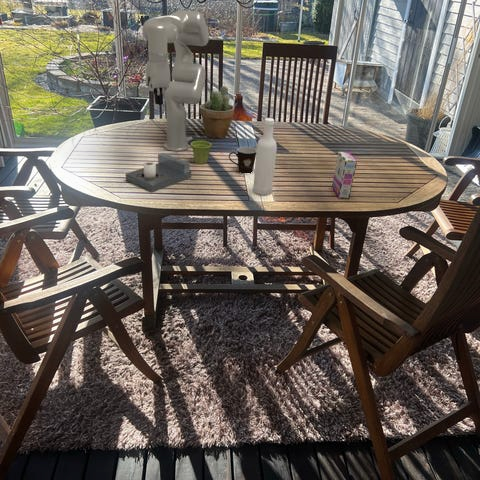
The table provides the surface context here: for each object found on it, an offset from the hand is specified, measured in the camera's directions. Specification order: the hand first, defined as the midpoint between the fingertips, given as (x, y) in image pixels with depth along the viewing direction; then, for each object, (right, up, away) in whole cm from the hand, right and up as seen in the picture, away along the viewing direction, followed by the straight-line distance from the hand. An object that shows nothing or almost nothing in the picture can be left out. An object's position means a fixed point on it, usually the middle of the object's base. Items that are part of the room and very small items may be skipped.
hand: (159, 103), depth 193 cm
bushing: (-3, -34, -4) cm, 34 cm away
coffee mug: (+35, -26, +14) cm, 46 cm away
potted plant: (+21, -1, +56) cm, 60 cm away
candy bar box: (+76, -38, -1) cm, 86 cm away
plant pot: (+16, -21, +20) cm, 33 cm away
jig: (0, -32, -1) cm, 32 cm away
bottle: (+43, -38, -5) cm, 58 cm away
